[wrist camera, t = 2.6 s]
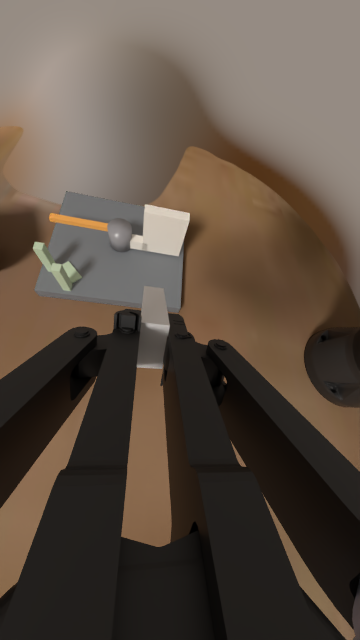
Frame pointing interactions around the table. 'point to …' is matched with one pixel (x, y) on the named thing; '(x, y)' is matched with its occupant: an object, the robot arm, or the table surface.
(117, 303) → the lever toy board
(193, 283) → the table surface
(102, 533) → the robot arm
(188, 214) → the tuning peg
